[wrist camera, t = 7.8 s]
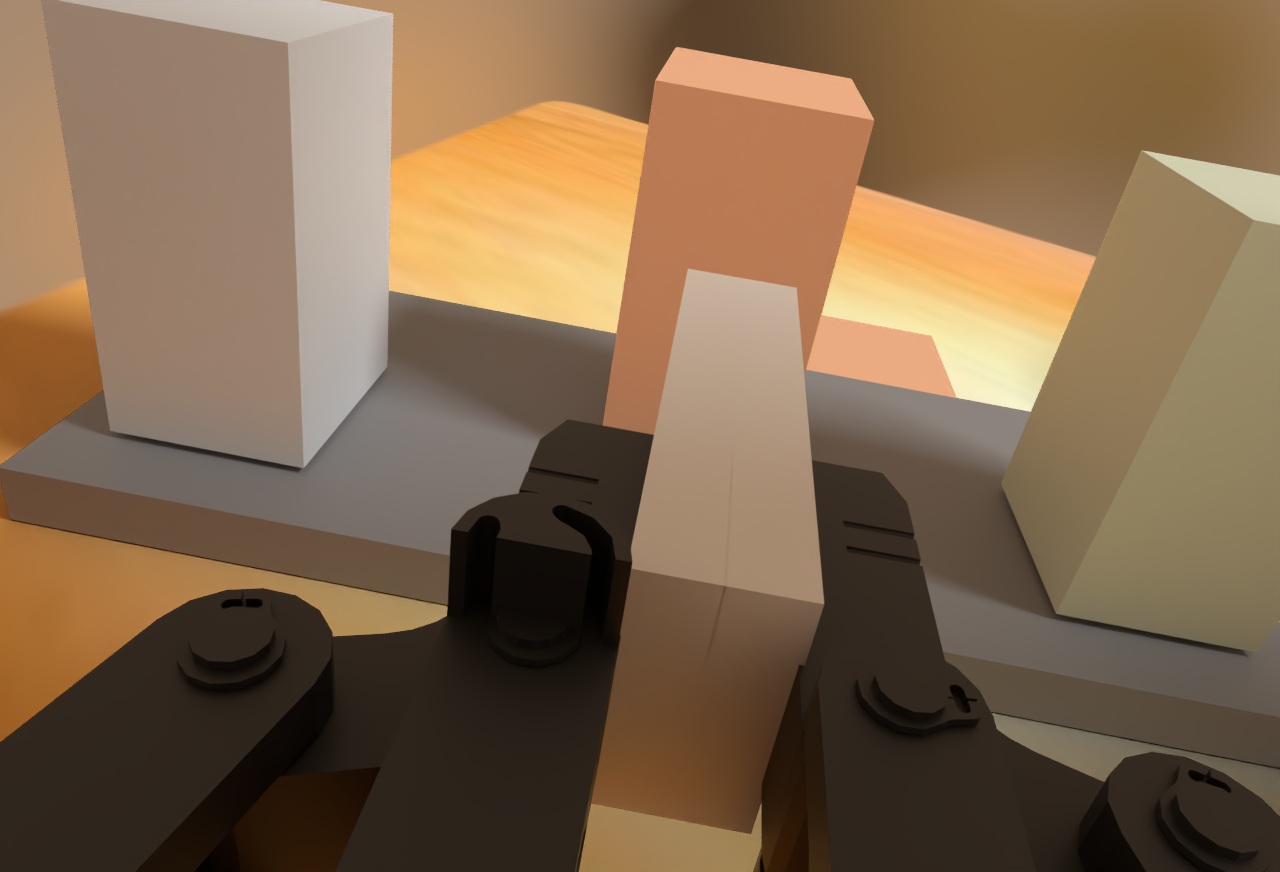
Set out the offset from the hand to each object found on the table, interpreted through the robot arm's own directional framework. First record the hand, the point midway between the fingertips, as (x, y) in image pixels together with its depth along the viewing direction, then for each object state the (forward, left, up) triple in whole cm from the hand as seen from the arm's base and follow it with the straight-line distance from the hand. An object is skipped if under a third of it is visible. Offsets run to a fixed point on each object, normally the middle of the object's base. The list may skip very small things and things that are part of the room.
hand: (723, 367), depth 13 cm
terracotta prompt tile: (-7, -24, -10) cm, 27 cm away
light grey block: (+12, -10, -8) cm, 17 cm away
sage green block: (-12, -10, -8) cm, 17 cm away
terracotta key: (0, -13, -8) cm, 15 cm away
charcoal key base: (0, -12, -10) cm, 15 cm away
